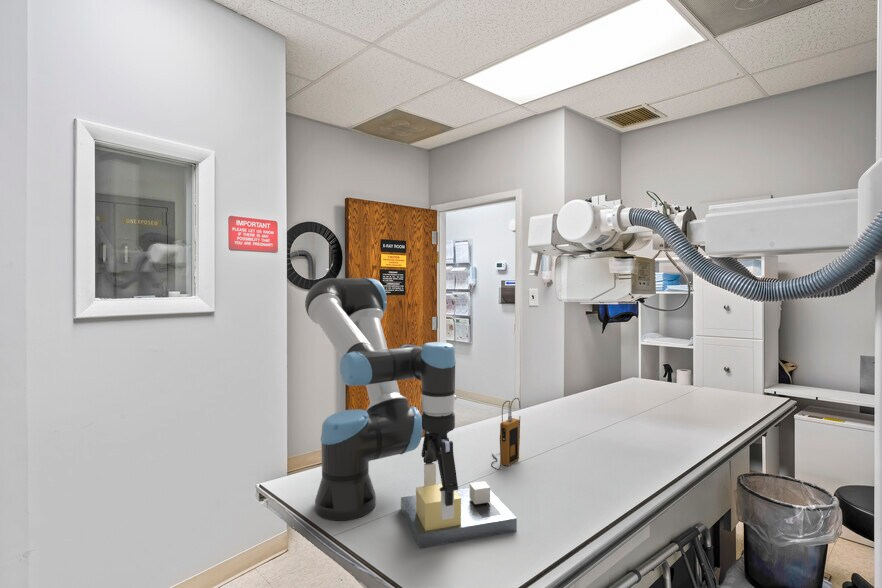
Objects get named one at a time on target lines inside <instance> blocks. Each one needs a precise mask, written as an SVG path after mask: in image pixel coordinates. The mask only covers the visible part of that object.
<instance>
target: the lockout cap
mask: <svg viewBox="0 0 882 588" xmlns="http://www.w3.org/2000/svg"><path fill="white" fill-rule="evenodd" d="M441 487H442V483H439V484H437V483H436V485H430V486H424V485H423V486H417V487H415V495H416V513H417V515H418V517H419V519H420V521H421V523H422V525H423V527H424V529H425V531H427V530H433V529H439V528H445V527H451V526H457V525H461V498H460V496H459V495H458V494H457V492H456V491H454V518H451V519H445V520H442V519H441V491H440V488H441Z"/></svg>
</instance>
